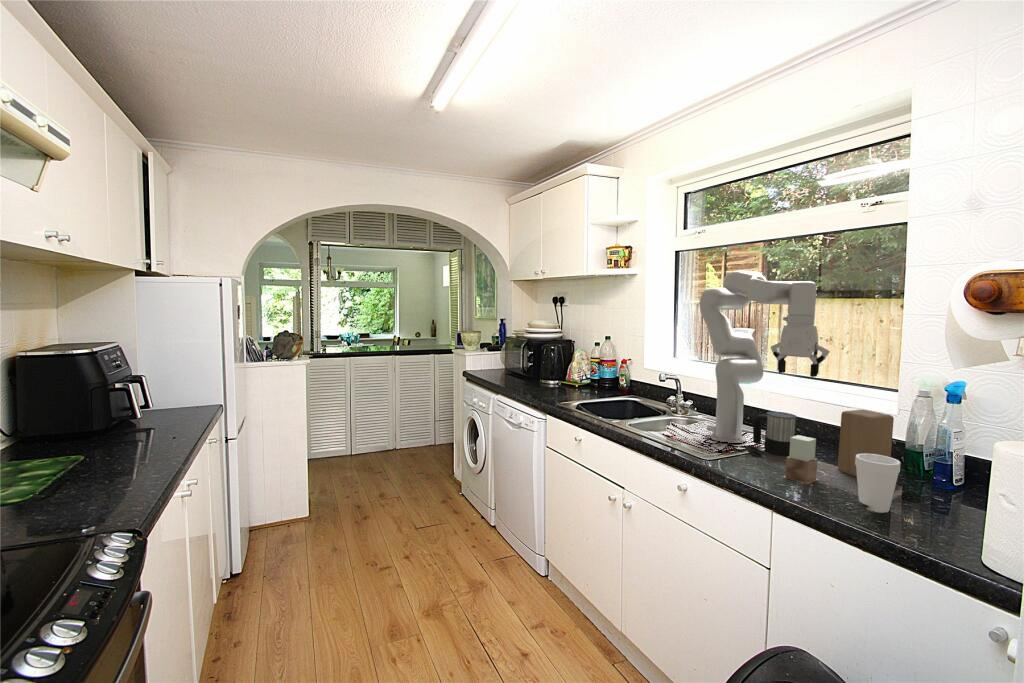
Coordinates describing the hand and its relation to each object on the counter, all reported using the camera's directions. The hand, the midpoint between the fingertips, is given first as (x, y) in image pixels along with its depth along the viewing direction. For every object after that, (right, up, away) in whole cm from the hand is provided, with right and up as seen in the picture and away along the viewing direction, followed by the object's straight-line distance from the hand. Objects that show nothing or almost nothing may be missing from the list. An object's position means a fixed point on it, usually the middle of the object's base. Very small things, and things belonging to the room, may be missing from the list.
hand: (797, 374), depth 163 cm
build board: (-5, -31, -8) cm, 32 cm away
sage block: (-5, -24, -12) cm, 27 cm away
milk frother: (-2, -30, +14) cm, 33 cm away
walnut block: (-5, -30, -11) cm, 32 cm away
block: (+17, -31, -6) cm, 36 cm away
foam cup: (+4, -33, -29) cm, 44 cm away
